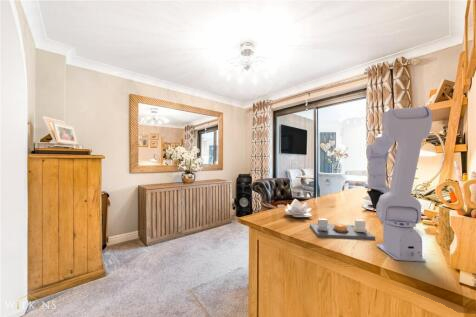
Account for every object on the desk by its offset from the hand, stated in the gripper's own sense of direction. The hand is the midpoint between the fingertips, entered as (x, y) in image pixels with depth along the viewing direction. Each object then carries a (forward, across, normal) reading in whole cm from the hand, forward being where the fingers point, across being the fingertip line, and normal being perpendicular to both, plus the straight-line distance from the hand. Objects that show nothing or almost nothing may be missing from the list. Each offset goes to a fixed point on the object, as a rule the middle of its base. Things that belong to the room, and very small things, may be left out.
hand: (376, 208), depth 78 cm
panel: (+9, -2, +15) cm, 18 cm away
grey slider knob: (+8, -4, +22) cm, 24 cm away
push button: (+9, -3, +15) cm, 18 cm away
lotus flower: (+10, +19, +27) cm, 35 cm away
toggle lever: (+8, -4, +8) cm, 12 cm away
